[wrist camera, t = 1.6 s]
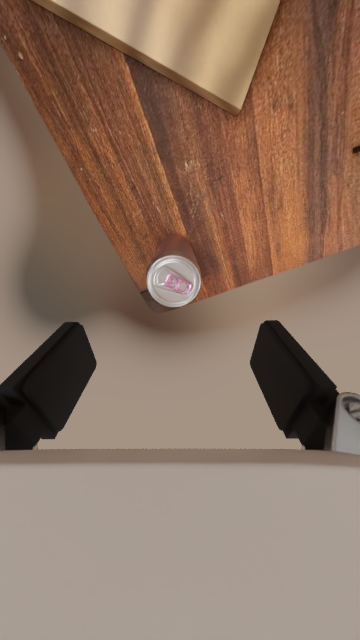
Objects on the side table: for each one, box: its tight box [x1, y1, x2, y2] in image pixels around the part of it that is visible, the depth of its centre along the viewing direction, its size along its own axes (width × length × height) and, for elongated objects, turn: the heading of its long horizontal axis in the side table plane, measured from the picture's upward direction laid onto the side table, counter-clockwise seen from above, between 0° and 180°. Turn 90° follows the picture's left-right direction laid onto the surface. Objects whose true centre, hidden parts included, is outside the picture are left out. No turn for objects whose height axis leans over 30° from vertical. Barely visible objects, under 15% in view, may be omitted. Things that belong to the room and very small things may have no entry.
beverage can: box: [146, 235, 201, 307], centre depth 24 cm, size 6×6×15 cm
